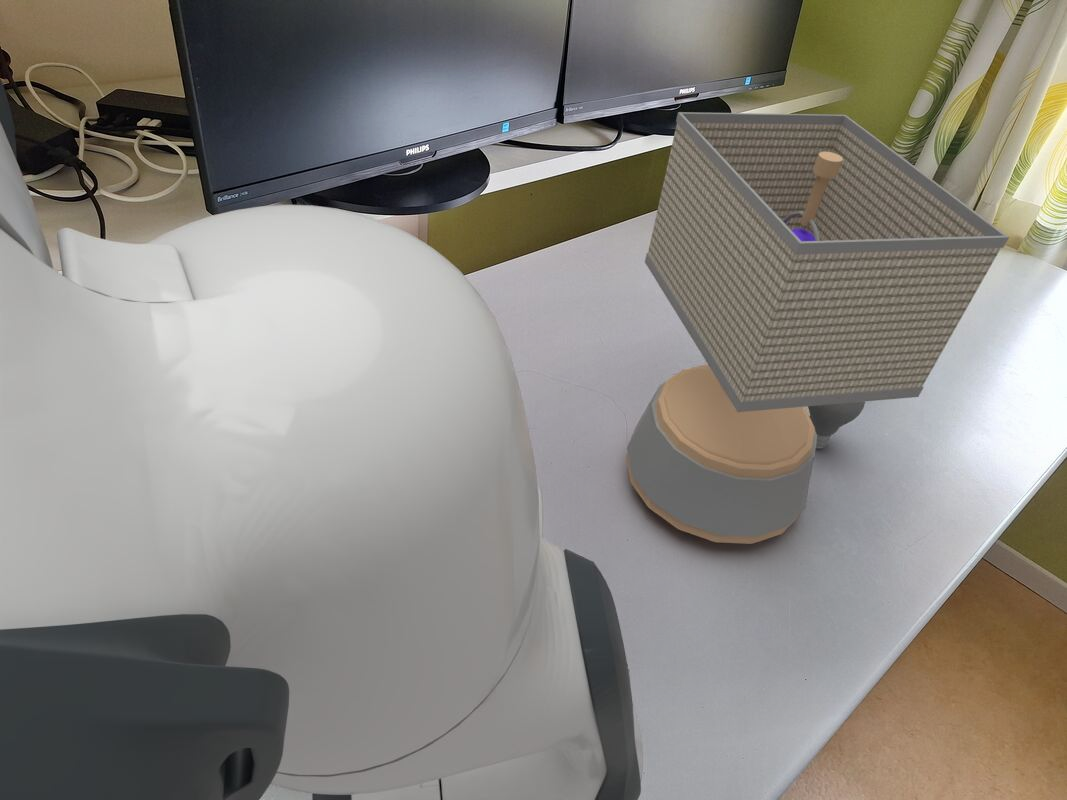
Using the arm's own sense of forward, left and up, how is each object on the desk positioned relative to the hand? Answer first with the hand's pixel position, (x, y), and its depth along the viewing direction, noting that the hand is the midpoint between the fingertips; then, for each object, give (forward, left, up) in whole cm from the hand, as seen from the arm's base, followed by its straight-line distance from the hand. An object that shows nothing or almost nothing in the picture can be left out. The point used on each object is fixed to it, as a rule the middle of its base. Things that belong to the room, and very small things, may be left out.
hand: (399, 430), depth 57 cm
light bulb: (+48, +12, -18) cm, 53 cm away
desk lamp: (+33, +7, -18) cm, 38 cm away
